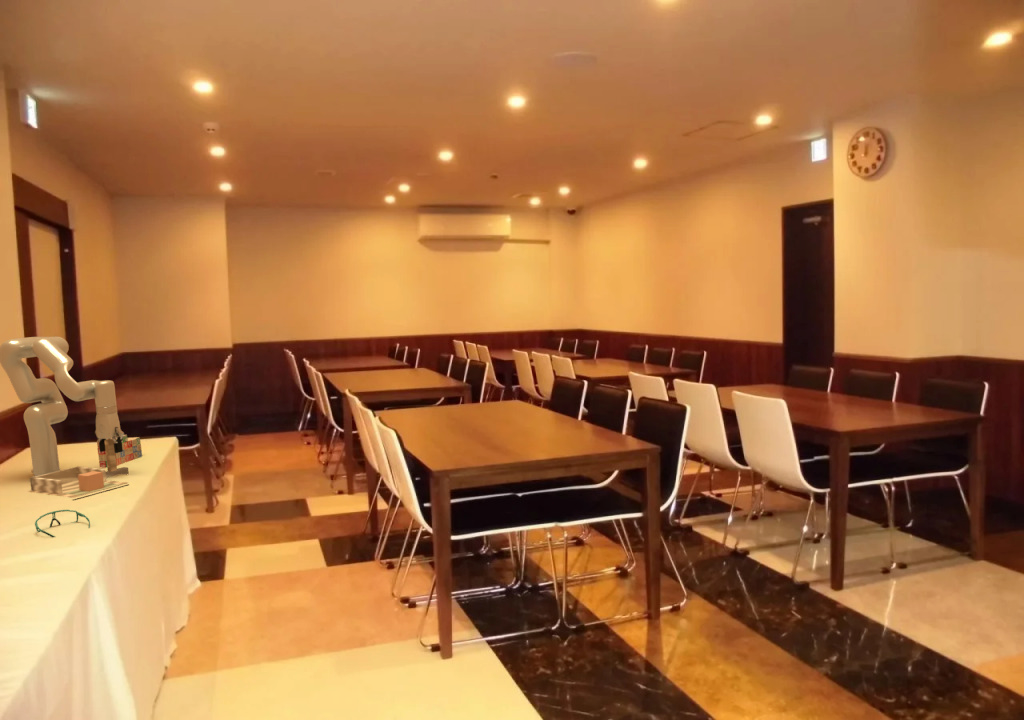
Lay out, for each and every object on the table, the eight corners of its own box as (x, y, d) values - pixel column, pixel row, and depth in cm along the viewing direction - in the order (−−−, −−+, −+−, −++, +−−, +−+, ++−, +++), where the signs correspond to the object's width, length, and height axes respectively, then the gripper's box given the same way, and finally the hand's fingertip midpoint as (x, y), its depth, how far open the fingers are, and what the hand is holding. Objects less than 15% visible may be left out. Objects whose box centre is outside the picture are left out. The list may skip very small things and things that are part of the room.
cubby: (27, 494, 291) (25, 478, 291) (83, 479, 310) (81, 465, 310) (74, 500, 277) (72, 484, 276) (129, 485, 296) (127, 470, 295)
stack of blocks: (130, 456, 354) (127, 431, 353) (142, 456, 354) (139, 430, 352) (99, 467, 333) (96, 440, 332) (112, 467, 332) (109, 440, 331)
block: (79, 490, 288) (77, 474, 287) (94, 486, 293) (92, 471, 292) (89, 491, 285) (87, 476, 284) (104, 487, 290) (102, 472, 290)
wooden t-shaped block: (97, 481, 307) (92, 442, 305) (124, 474, 317) (120, 436, 316) (101, 481, 305) (97, 442, 304) (128, 474, 316) (124, 436, 314)
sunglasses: (77, 520, 251) (76, 505, 250) (96, 531, 242) (95, 516, 241) (29, 532, 240) (28, 517, 239) (48, 544, 231) (47, 529, 230)
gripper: (85, 411, 310) (89, 452, 311) (111, 412, 302) (115, 454, 303) (102, 408, 316) (106, 448, 318) (128, 409, 308) (133, 450, 310)
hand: (111, 451), depth 311 cm, fingers open, 9 cm apart
